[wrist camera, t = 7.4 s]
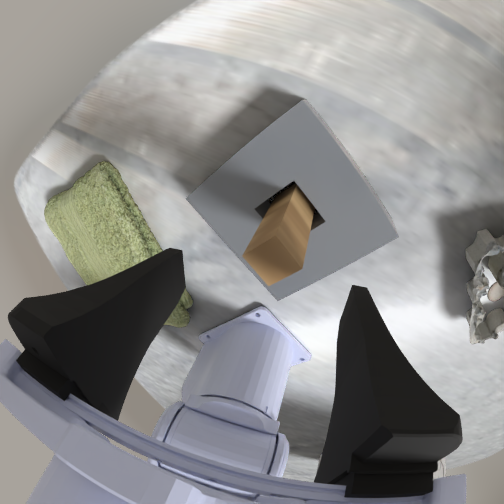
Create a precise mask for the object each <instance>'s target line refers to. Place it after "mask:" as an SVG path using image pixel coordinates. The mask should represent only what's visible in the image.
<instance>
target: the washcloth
mask: <svg viewBox="0 0 504 504" xmlns="http://www.w3.org/2000/svg"><path fill="white" fill-rule="evenodd" d="M44 215H45V220H46V222H47V224H48V226H49V228H50V229H51V231H52V232H53V234H54V235H55V237H57V239H58V240H59V242H60V244H61V245H62V247H63V249H64V251H65V253H66V256H67V257H68V259H69V261H70V262H71V263H72V265H73V266H74V268H75V269H76V271H77V272H78V274H79V275H80V276H81V278H82V279H83V281H84V282H85V284H86V285H90V284H93V283H96V282H98V281H101V280H104V279H106V278H108V277H111V276H113V275H115V274H117V273H119V272H121V271H124V270H126V269H128V268H130V267H132V266H134V265H136V264H138V263H140V262H142V261H144V260H146V259H148V258H150V257H152V256H154V255H156V254H158V253H160V252H162V251H163V250H162V249H161V248H160V246H159V243H158V242H157V240H155V237H154V235H153V233H152V232H150V228H149V227H148V225H147V223H146V221H145V220H144V218H143V216H142V214H141V211H140V210H139V209H138V206H137V205H136V204H135V203H134V201H133V198H132V197H131V194H130V193H128V188H127V186H126V184H124V182H123V181H122V179H121V175H120V173H119V172H118V170H117V169H115V168H114V167H113V166H112V165H111V164H110V163H109V162H105V161H102V162H100V163H98V164H97V165H96V166H94V167H93V168H92V170H89V171H88V172H87V173H86V174H85V176H83V177H81V178H79V179H78V180H77V181H75V183H74V185H73V187H72V188H70V189H69V190H67V191H64V192H61V193H60V194H58V195H55V196H53V197H52V198H51V199H49V201H48V203H47V205H46V207H45V210H44ZM192 304H193V301H192V299H191V296H190V295H189V293H188V292H187V291H186V288H185V290H184V292H183V294H182V296H181V298H180V300H179V302H178V304H177V306H176V307H175V309H174V310H173V312H172V313H171V315H170V316H169V318H168V319H167V321H166V322H165V324H164V325H171V326H175V327H178V328H182V327H186V326H187V325H188V323H189V318H190V316H189V313H188V311H186V309H188V308H189V307H191V306H192Z"/></svg>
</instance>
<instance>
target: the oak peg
mask: <svg viewBox="0 0 504 504" xmlns="http://www.w3.org/2000/svg"><path fill="white" fill-rule="evenodd" d="M314 209H315V207H314V205H313V204H312V203H311V202H310V200H309V199H308V198H307V196H306V195H305V194H304V193H303V191H302V190H301V189H300V187H299V186H298V185H297V184H296V183H295V184H293V185H292V186H290V187H289V188H287V189H286V190H284V191H283V192H281V193H280V194H278V195H277V196H276V197H275V198H274V200H273V202H272V204H271V205H270V207H269V209H268V211H267V213H266V214H265V216H264V218H263V220H262V221H261V223H260V225H259V227H258V229H257V230H256V232H255V234H254V236H253V237H252V239H251V241H250V243H249V245H248V246H247V248H246V250H245V252H244V254H243V255H242V257H243V258H244V259H245V260H246V261H247V262H248V263H249V265H250V266H251V267H252V268H253V269H254V270H255V271H256V273H257V274H258V275H259V276H260V277H261V278H262V279H263V281H264V282H265V283H266V284H267V285H268V286H270V285H272V284H274V283H276V282H278V281H280V280H282V279H284V278H286V277H288V276H290V275H292V274H294V273H296V272H297V271H299V270H301V269H302V268H303V264H304V259H305V254H306V250H307V245H308V240H309V235H310V230H311V225H312V220H313V215H314Z"/></svg>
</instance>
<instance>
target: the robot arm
mask: <svg viewBox="0 0 504 504" xmlns="http://www.w3.org/2000/svg"><path fill="white" fill-rule="evenodd" d="M185 288H186V285H185V275H184V265H183V254H182V250H178V249H173V248H169V249H166V250H164V251H162V252H160V253H158V254H156V255H154V256H152V257H150V258H148V259H146V260H144V261H142V262H140V263H138V264H136V265H134V266H132V267H130V268H128V269H126V270H124V271H121V272H119V273H117V274H115V275H113V276H111V277H108V278H106V279H104V280H101V281H98V282H96V283H93V284H90V285H87V286H84V287H80V288H77V289H74V290H70V291H66V292H62V293H57V294H52V295H46V296H38V297H31V298H24V299H23V300H22V301H21V302H20V303H19V304H18V305H17V306H16V307H15V308H14V309H13V310H12V311H11V312H10V313H9V314H8V320H9V323H10V325H11V327H12V329H13V331H14V332H15V334H16V336H17V337H18V339H19V340H20V342H21V343H22V345H23V346H24V348H25V350H24V352H23V353H21V352H20V351H19V350H18V349H17V348H16V347H15V346H14V345H13V344H11V343H10V342H9V341H8V340H7V339H5V340H4V341H3V342H2V343H1V344H0V402H1V403H2V404H3V405H4V406H5V407H6V408H7V409H8V410H9V411H10V412H11V413H12V415H13V416H14V417H15V418H17V420H18V421H20V422H21V423H22V424H23V425H24V426H25V427H26V428H27V429H28V430H29V431H30V432H31V433H32V434H34V435H35V436H36V437H37V438H38V439H39V440H40V441H41V442H43V443H44V444H45V445H46V446H47V447H49V448H50V449H51V450H52V451H53V452H54V454H55V455H54V457H53V458H52V460H51V462H50V463H49V465H48V467H47V468H46V470H45V471H44V473H43V475H42V477H41V478H40V480H39V482H38V484H37V485H36V487H35V488H34V490H33V492H32V493H31V495H30V497H29V499H28V501H27V502H26V504H466V475H465V474H460V475H454V476H447V477H441V478H437V479H434V480H433V472H436V471H437V470H438V461H439V460H441V459H442V458H444V457H445V456H447V455H449V454H450V453H452V452H453V451H454V450H455V449H457V448H458V447H459V445H460V444H461V443H462V428H461V421H460V415H459V414H458V413H457V412H455V411H454V410H453V409H452V408H451V407H450V406H449V405H447V404H446V403H445V402H444V401H443V400H442V399H441V398H440V397H439V396H438V395H437V394H436V393H435V392H434V391H433V390H432V389H431V388H430V387H429V386H428V385H427V384H426V383H425V382H424V380H423V379H422V378H421V377H420V376H419V374H418V373H417V372H416V371H415V370H414V368H413V367H412V366H411V364H410V363H409V362H408V360H407V359H406V357H405V356H404V355H403V353H402V352H401V350H400V349H399V347H398V346H397V344H396V342H395V341H394V339H393V337H392V336H391V334H390V332H389V330H388V329H387V327H386V325H385V323H384V321H383V319H382V317H381V315H380V313H379V311H378V309H377V307H376V305H375V303H374V301H373V299H372V297H371V295H370V293H369V291H368V289H367V288H366V287H361V286H356V285H352V287H351V290H350V293H349V296H348V299H347V302H346V305H345V308H344V311H343V314H342V317H341V319H340V323H339V331H338V339H337V359H336V386H335V397H334V403H333V409H332V414H331V420H330V424H329V429H328V434H327V438H326V442H325V446H324V450H323V454H322V457H321V461H320V464H319V468H318V471H317V474H316V477H315V480H314V482H306V481H299V480H293V479H287V478H282V476H283V473H284V470H285V467H286V463H287V459H288V454H289V442H288V441H287V439H286V436H285V435H284V434H282V433H277V432H278V429H279V425H280V422H279V421H277V418H278V414H279V410H280V407H281V403H282V399H283V395H284V391H285V387H286V383H287V379H288V375H289V370H290V366H293V365H297V364H300V363H303V362H306V361H309V360H310V359H311V354H310V353H309V352H308V351H307V350H306V349H305V348H304V347H303V346H302V345H301V344H300V343H299V342H298V340H297V339H296V338H295V337H294V336H293V335H292V334H291V333H290V332H289V331H288V330H287V329H286V328H285V327H284V326H283V325H282V324H281V323H280V322H279V321H278V320H277V319H276V318H275V317H274V316H273V315H272V313H271V312H270V311H269V310H268V309H267V308H265V307H262V306H261V307H258V308H256V309H254V310H252V311H250V312H248V313H246V314H243V315H241V316H239V317H237V318H235V319H233V320H231V321H228V322H226V323H224V324H222V325H220V326H218V327H215V328H213V329H211V330H209V331H207V332H204V333H202V334H200V335H199V340H200V341H201V342H202V343H203V344H204V345H203V347H202V349H201V350H200V352H199V354H198V356H197V358H196V360H195V362H194V364H193V366H192V368H191V370H190V372H189V373H188V375H187V377H186V379H185V381H184V384H183V387H182V401H183V402H181V401H178V402H176V403H175V404H172V405H170V406H169V407H167V408H166V410H165V411H164V412H163V413H162V415H161V417H160V418H159V420H158V422H157V424H156V426H155V429H154V431H153V433H152V436H151V437H150V436H148V435H146V434H143V433H141V432H139V431H137V430H135V429H133V428H131V427H129V426H127V425H125V424H123V423H121V422H119V421H118V419H119V415H120V412H121V409H122V406H123V403H124V400H125V398H126V395H127V392H128V390H129V387H130V385H131V382H132V380H133V378H134V376H135V374H136V371H137V369H138V367H139V365H140V363H141V361H142V359H143V357H144V355H145V353H146V351H147V349H148V348H149V346H150V344H151V343H152V341H153V340H154V338H155V337H156V335H157V334H158V332H159V331H160V329H161V328H162V326H163V325H164V324H165V322H166V321H167V319H168V318H169V316H170V315H171V313H172V312H173V310H174V309H175V307H176V306H177V304H178V302H179V300H180V298H181V296H182V294H183V292H184V290H185ZM257 313H259V314H257ZM96 430H97V431H96ZM99 432H100V433H99ZM101 433H102V434H103V435H105V436H107V437H109V438H111V439H112V440H114V441H116V442H118V443H120V444H122V445H124V446H126V447H127V448H129V449H132V450H133V451H136V452H138V453H140V454H142V455H144V456H146V457H148V461H147V462H146V461H144V460H142V459H140V458H138V457H136V456H134V455H132V454H130V453H128V452H126V451H124V450H122V449H120V448H118V447H116V446H115V445H113V444H111V443H110V441H109V440H108V439H107V438H106V437H105V436H103V435H102V434H101Z"/></svg>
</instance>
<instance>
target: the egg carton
mask: <svg viewBox="0 0 504 504" xmlns="http://www.w3.org/2000/svg"><path fill="white" fill-rule="evenodd" d="M465 253H466V260H467V261H468V263H469V265H470V266H471V268H472V270H473V271H474V273H475V274H476V275H475V277H474V278H473V279H472V280H470V281H469V282H467V292H468V294H469V296H470V298H471V300H472V304H473V305H472V309H470V310H468V311H467V313H466V318H467V321H468V323H469V326H470V343H471V344H475V343H485V342H484V341H485V340H487V339H489V338H494V339H497V338H498V334H497V333H498V332H501V331H503V330H504V311H503V309H501V308H497V309H494V310H492V311H491V312H490V313H489V314H488V315H487V317H486V319H485V321H483V318H484V315H485V314H486V311H485V310H484V308H483V306H482V304H481V302H480V298H481V296H484V295H486V294H487V293H486V289H489V281H488V279H487V278H486V277H485V275H484V274H483V272H484V268H483V267H482V259H483V258H484V257H485V256H490V258H489V262H488V266H489V269H490V271H491V272H492V274H493V276H494V277H495V279H496V281H497V282H496V283H494V284H493V285H492V286H491V288H490V289H489V291H488V298H489V300H490V301H497V300H500V298H501V297H502V296H504V234H503V235H502V236H501V237H499V238H494V237H493V236H492V235H491V234H490V232H489V231H488V230H487V229H483V230H481V231H478V232H477V235H476V238H475V241H474V243H473V244H472V245H471V246H469V247H468V248H466V249H465Z"/></svg>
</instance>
